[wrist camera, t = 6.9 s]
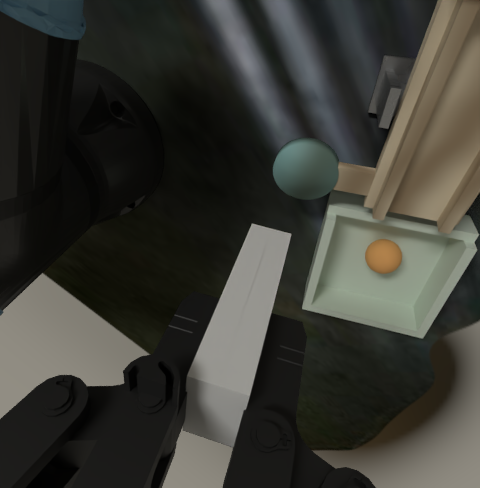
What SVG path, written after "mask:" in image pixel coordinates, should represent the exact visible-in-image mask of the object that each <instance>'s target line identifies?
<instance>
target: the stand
mask: <svg viewBox="0 0 480 488" xmlns="http://www.w3.org/2000/svg"><path fill="white" fill-rule="evenodd" d="M415 61H416V59H415V58H407V57H400V56H392V55H385V54H384V57H383V60H382V64H381V67H380V71H379V74H378V78H377V81H376V84H375V88H374V91H373V95H372V98H371V102H370V105H369V109H368V112H369V113H375V114H377V119H378V127H380V128H387V129H388V128H389V125H390V122H391V119H392V116H394V117H395V115H396V112H397V109H398V107H399V104H400V101H401V99H402V96H403V93H404V91H405V88H406V85H407V83H408V80H409V77H410V74H411V72H412V69H413V66H414V64H415Z"/></svg>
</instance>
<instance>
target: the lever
mask: <svg viewBox="0 0 480 488" xmlns="http://www.w3.org/2000/svg"><path fill="white" fill-rule="evenodd" d="M273 176H274V179H275V182H276V183H277V185H278V186H279V188H280V189H281V190H282V191H284V192H285V193H286V194H288V195H290V196H292V197H295V198H298V199H303V200H312V199H317V198H320V197H323V196H325V195H326V194H328V193H329V192H330V191H331V190H332V189H334V190H339V191H344V192H349V193H354V194H360V195H365V198H364V207H368V208H373V215H372V218H373V219H378V220H382V221H383V220H384V218H385V215H386V213H387V211H388V212H394V213H399V214H404V215H409V216H414V217H419V218H424V219H429V220H434V221H437V225H438V232H442V233H447V234H450V233H451V232H452V230H453V228H454V227H455V225H458V224H459V222H460V221H461V219H462V218H463V216H464V215H465V213H466V212H467V210H468V209H469V207H470V206H471V204H472V203H473V201H474V200H475V198H476V197H477V196H478V194H479V193H480V0H438V2H437V5H436V7H435V10H434V13H433V16H432V18H431V21H430V24H429V26H428V29H427V32H426V34H425V37H424V40H423V42H422V45H421V48H420V50H419V53H418V56H417V58H416V61H415V64H414V66H413V69H412V72H411V74H410V77H409V80H408V83H407V85H406V88H405V91H404V93H403V96H402V99H401V101H400V104H399V107H398V109H397V112H396V115H395V117H394V120H393V123H392V125H391V128H390V131H389V133H388V136H387V139H386V141H385V144H384V147H383V150H382V152H381V155H380V158H379V160H378V163H377V166H376V168H370V167H364V166H359V165H353V164H348V163H342V162H339V159H338V157H337V154H336V153H335V151H334V150H333V149H332V148H331V147H330V146H329V145H327V144H326V143H324V142H322V141H320V140H317V139H313V138H299V139H295V140H292V141H290V142H288V143H287V144H285V145H284V146H283V147H282V148H281V149H280V151H279V152H278V154H277V157H276V160H275V163H274V166H273Z"/></svg>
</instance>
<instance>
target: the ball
mask: <svg viewBox="0 0 480 488" xmlns="http://www.w3.org/2000/svg"><path fill="white" fill-rule="evenodd" d="M365 260H366V263H367V265H368V266H369V268H370V269H372V270H373V271H375V272H377V273H381V274H387V273H391V272H393V271H395V270H396V269H397V268H398V267H399V266H400V264H401V261H402V252H401V249H400V248H399V246H398V245H397V244H396V243H394V242H393V241H391V240H387V239H379V240H376V241H374V242H372V243H371V244H370V245H369V246H368V248H367V249H366V252H365Z"/></svg>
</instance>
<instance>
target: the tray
mask: <svg viewBox="0 0 480 488" xmlns="http://www.w3.org/2000/svg"><path fill="white" fill-rule="evenodd" d="M364 198H365V195H360V194H354V193H349V192H344V191H339V190H334V189H332V190H331V192H330V195H329V199H328V203H327V207H326V211H325V214H324V218H323V222H322V226H321V230H320V233H319V237H318V241H317V245H316V248H315V252H314V256H313V260H312V264H311V267H310V271H309V275H308V279H307V283H306V288H305V294H304V300H303V306H302V309H305V310H309V311H313V312H317V313H321V314H325V315H329V316H333V317H337V318H341V319H345V320H349V321H354V322H358V323H362V324H366V325H370V326H374V327H378V328H382V329H386V330H390V331H394V332H398V333H402V334H406V335H410V336H414V337H418V338H422V339H423V337H424V336H425V334H426V332H427V331H428V329H429V328H430V326H431V324H432V323H433V321H434V319H435V318H436V316H437V315H438V313H439V311H440V310H441V308H442V306H443V305H444V303H445V302H446V300H447V298H448V297H449V295H450V293H451V292H452V290H453V289H454V287H455V285H456V284H457V282H458V280H459V279H460V277H461V276H462V274H463V272H464V271H465V269H466V268H467V266H468V264H469V263H470V261H471V259H472V258H473V256H474V255H475V253H476V251H477V248H476V246H475V243H474V242H475V241H476V239H477V237H478V236H479V234H478V232H477V230H476V228H475V225H474V223H473V221H472V219H471V217H470V216H469V215H464V216H463V218H462V219H461V221H460V222H459V224H458V225H455V227H454V228H453V230H452V232H451V233H450V234H447V233H442V232H438V225H437V221H434V220H429V219H424V218H419V217H414V216H409V215H404V214H399V213H394V212H388V211H387V213H386V215H385V218H384V220H383V221H382V220H378V219H373V218H372V215H373V208H368V207H364ZM379 239H387V240H391V241H393V242H394V243H396V244H397V245H398V246H399V248H400V249H401V252H402V261H401V264H400V266H399V267H398V268H397V269H396V270H395V271H393V272H391V273H387V274H381V273H377V272H375V271H373V270H372V269H370V268H369V266H368V265H367V263H366V260H365V252H366V249H367V248H368V246H369V245H370V244H371V243H372V242H374V241H376V240H379Z"/></svg>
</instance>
